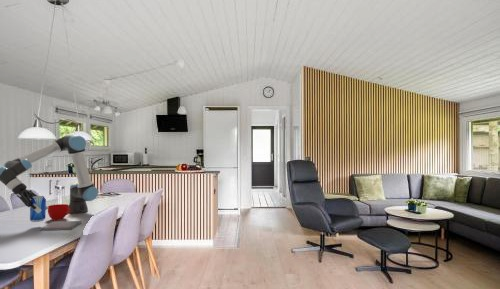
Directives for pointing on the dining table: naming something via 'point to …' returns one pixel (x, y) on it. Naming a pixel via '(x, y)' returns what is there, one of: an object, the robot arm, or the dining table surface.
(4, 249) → the dining table surface
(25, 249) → the dining table surface
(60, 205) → the ceramic cup
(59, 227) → the slate tile
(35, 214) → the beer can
